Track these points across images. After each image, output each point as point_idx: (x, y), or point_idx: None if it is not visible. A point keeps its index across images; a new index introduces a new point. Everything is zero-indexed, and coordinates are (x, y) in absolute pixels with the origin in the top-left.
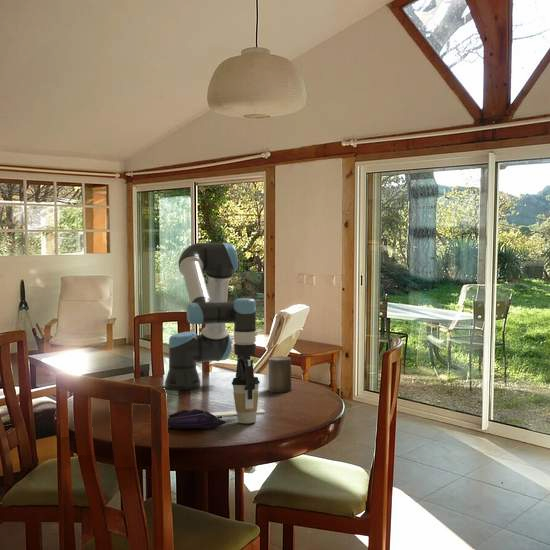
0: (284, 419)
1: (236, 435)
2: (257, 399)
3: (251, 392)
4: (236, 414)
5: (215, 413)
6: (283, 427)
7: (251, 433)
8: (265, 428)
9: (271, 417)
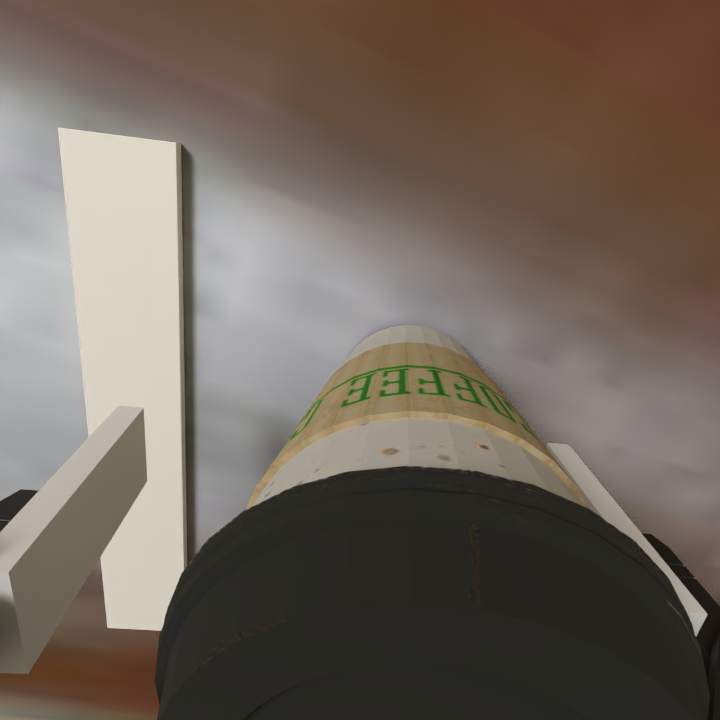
0: (449, 29)
1: (637, 522)
2: (505, 405)
3: (715, 619)
4: (181, 407)
5: (130, 537)
6: (669, 156)
7: (655, 435)
8: (609, 309)
9: (334, 135)
